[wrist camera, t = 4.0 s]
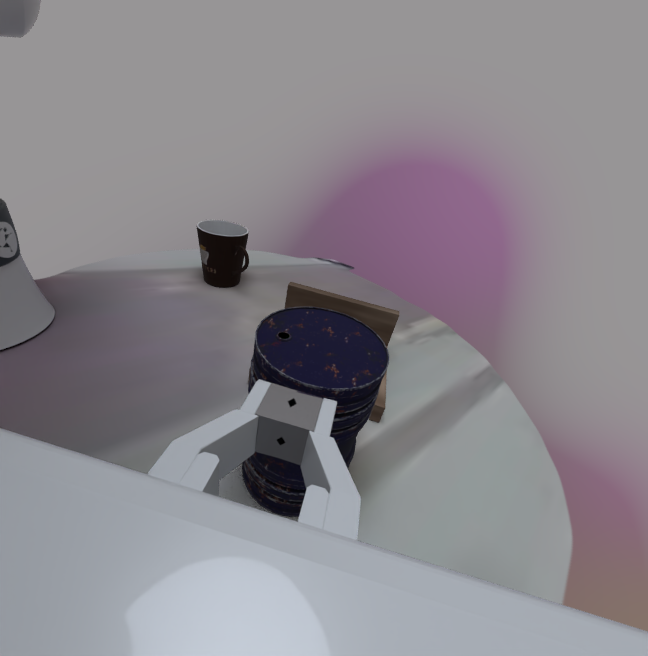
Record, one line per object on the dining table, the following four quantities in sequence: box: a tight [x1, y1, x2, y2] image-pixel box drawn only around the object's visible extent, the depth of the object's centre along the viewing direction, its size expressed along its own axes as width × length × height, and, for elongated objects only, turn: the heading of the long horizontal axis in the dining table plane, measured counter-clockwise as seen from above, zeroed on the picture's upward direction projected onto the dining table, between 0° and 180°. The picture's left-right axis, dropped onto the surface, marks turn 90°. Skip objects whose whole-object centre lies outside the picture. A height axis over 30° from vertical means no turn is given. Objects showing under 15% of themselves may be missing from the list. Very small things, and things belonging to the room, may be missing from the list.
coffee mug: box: [197, 220, 249, 288], centre depth 55 cm, size 12×9×10 cm
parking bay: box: [248, 282, 399, 422], centre depth 41 cm, size 14×16×8 cm
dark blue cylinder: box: [242, 307, 389, 517], centre depth 26 cm, size 10×10×15 cm
